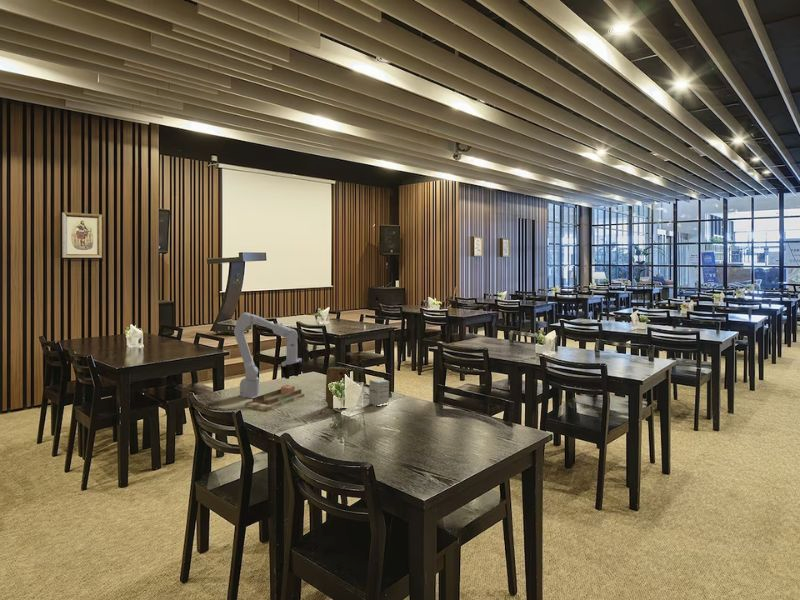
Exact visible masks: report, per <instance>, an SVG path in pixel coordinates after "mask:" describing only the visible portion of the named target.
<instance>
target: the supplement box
mask: <svg viewBox="0 0 800 600" xmlns="http://www.w3.org/2000/svg"><path fill="white" fill-rule="evenodd" d="M368 389H369V392H368V395H369V396H368V404H369V405H371V404H373V405H372V406H374V405H380V404H384V403H387V402H388V403H389V398H390V397H389V394H390V381H389V380H386V379H384V378H381V377H380V378H374V379H373V378H372V379H369V388H368Z"/></svg>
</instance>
